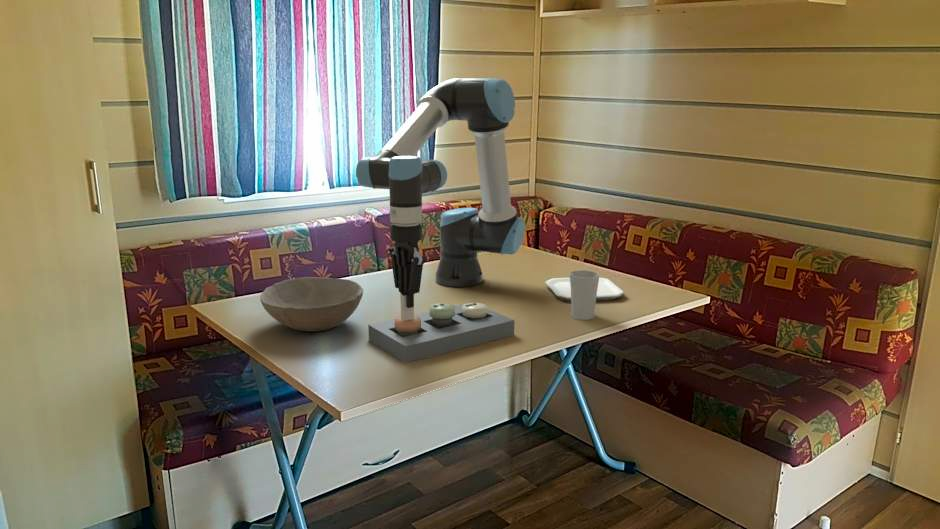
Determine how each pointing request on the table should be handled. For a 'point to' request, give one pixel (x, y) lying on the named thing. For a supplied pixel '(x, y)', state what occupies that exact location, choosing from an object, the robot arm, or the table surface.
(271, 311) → the bowl
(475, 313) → the button three
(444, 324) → the button two
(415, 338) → the console
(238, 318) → the table surface
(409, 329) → the button one
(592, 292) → the cup
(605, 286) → the plate
